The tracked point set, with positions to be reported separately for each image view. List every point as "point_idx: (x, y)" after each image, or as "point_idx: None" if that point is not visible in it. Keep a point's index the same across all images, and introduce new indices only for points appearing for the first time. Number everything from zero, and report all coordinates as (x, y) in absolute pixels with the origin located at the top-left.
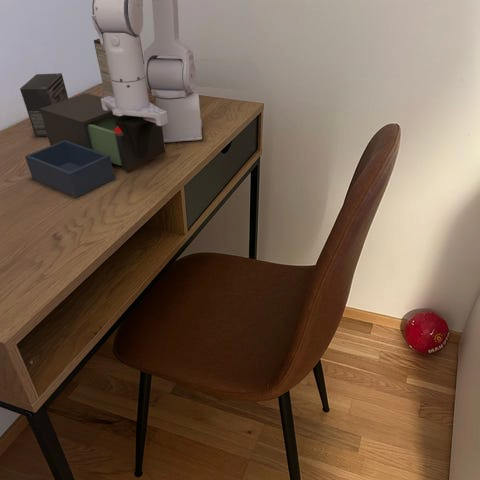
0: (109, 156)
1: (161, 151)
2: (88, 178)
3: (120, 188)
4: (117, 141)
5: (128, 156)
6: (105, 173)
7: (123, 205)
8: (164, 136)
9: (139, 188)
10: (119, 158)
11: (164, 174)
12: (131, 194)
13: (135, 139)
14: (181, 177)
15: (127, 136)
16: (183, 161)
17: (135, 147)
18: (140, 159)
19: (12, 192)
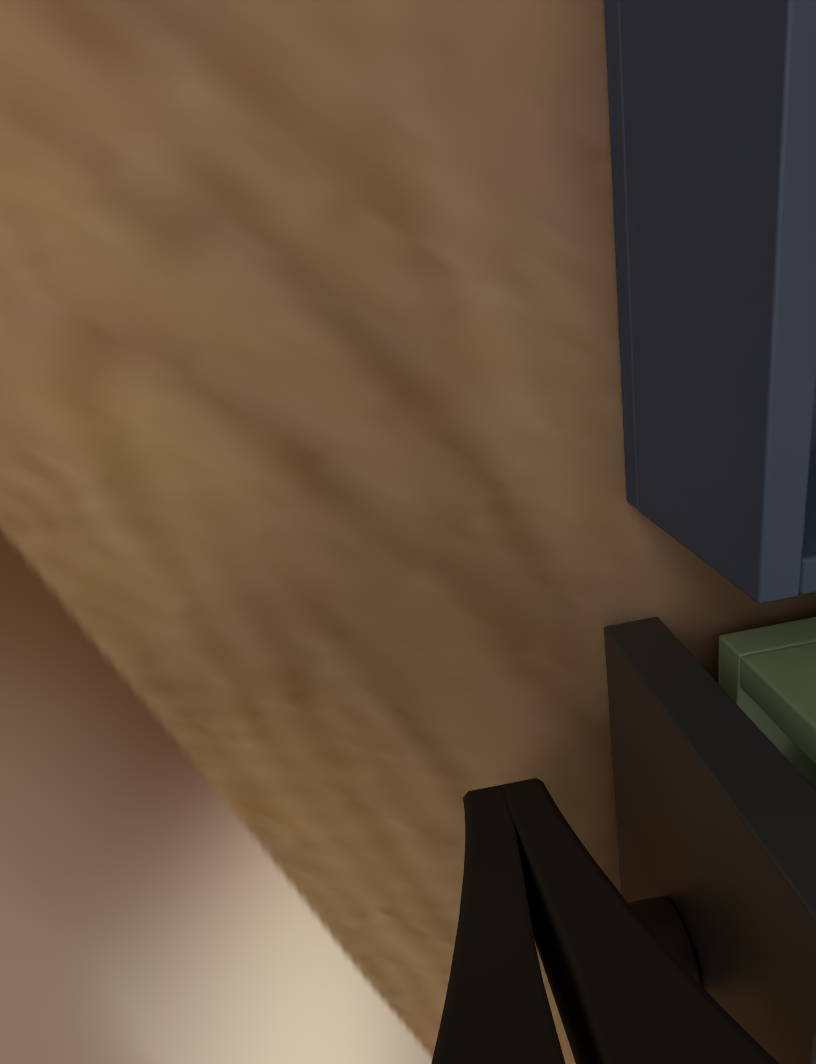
0: (754, 592)
1: None
2: (678, 180)
3: (438, 444)
4: None
5: (660, 747)
6: (664, 437)
7: (111, 281)
8: None
9: (321, 561)
10: (758, 679)
11: (392, 794)
12: (268, 456)
13: (453, 1054)
14: (267, 845)
15: (648, 1028)
16: None
17: (489, 900)
18: (629, 791)
19: None
